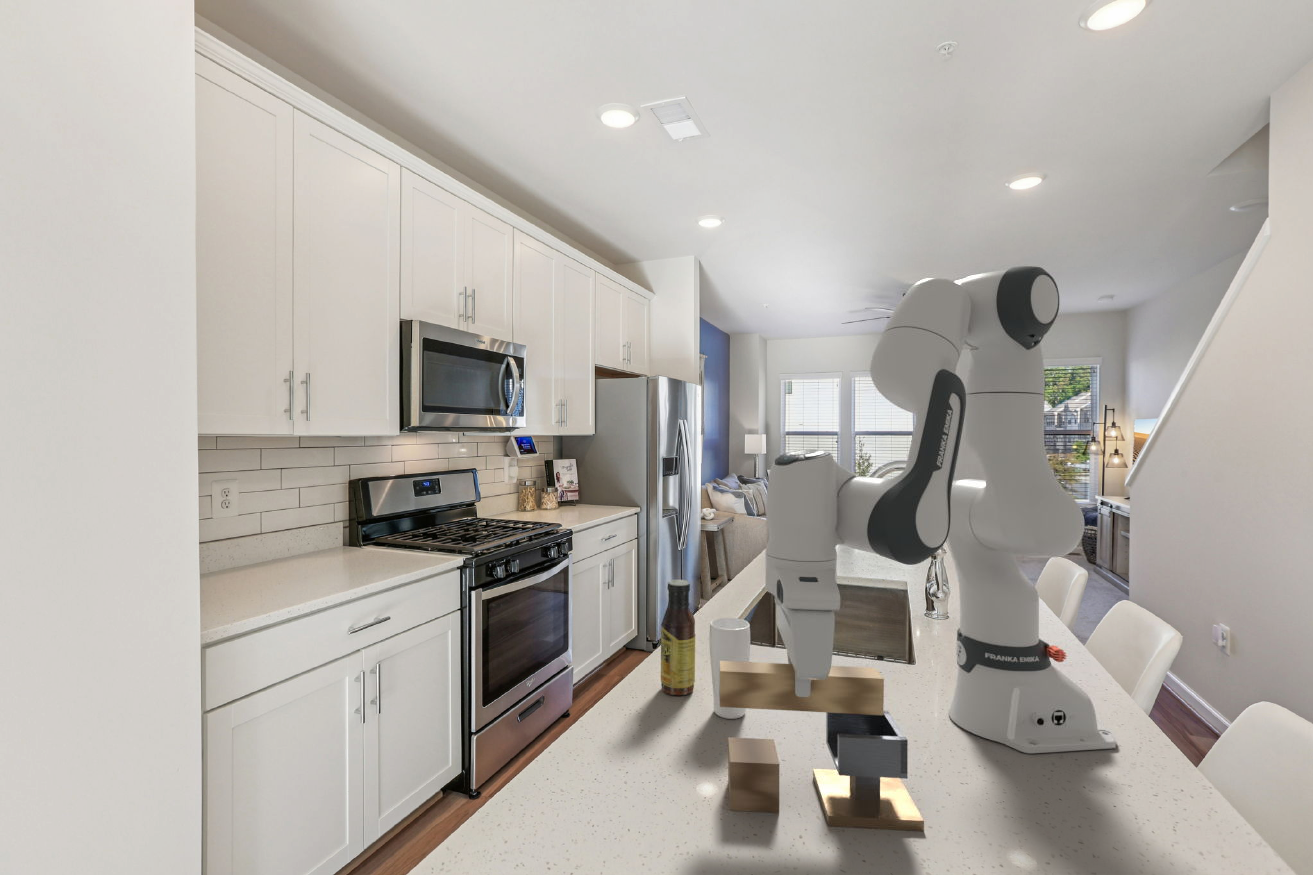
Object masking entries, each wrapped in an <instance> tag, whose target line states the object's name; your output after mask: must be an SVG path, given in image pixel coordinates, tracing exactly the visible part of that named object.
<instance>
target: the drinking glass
mask: <svg viewBox="0 0 1313 875" xmlns="http://www.w3.org/2000/svg"><path fill="white" fill-rule="evenodd" d="M750 626H751V624H750V623H749V622H748V621H747V620H745V619H741V618H739V617H738V618H737V617H736V618H735V617H718V618H715V619H712V620H710V623H709V641H708V642H709V656H710V657H709V658H710V670H711V681H712V682H711V683H712V696H713V711H714V713H715V714H716V715H717V716H718V717H720V718H723V719H726V720H727V719H728V720H736V719H740V718H742V717H743V716H744V715H745V714H746V712H747V710H746V709H747V708H731V707H720V700H719V676H720V661H736V662H750V656H751V627H750Z"/></svg>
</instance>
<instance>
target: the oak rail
mask: <svg viewBox="0 0 1313 875" xmlns="http://www.w3.org/2000/svg"><path fill="white" fill-rule="evenodd" d="M794 678H795V670H794V667H793V665H792V664H788V663H780V662H779V663H777V662H776V663H775V662H754V661H749V662H736V661H720V676H719V700H720V707H731V708H746V709H749V710H750V709H752V710H755V709H756V710H774V711H791V712H793V711H795V712H812V713H826V712H828V713H847V714H867V715H883V711H884V701H885V700H884V694H885V693H884V692H885V690H884V689H885V679H884V677H883V676H882V675H881V673H880V672H879V670H878V669H877V667H869V666H868V667H866V666H865V667H864V666H847V665H846V666H844V665H831V669H830V673H829V675H828V677H827V679H812V680H811V687H810V696H809V697H798V696H797V695H796V694H795V690H794Z"/></svg>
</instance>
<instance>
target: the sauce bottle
mask: <svg viewBox="0 0 1313 875" xmlns="http://www.w3.org/2000/svg"><path fill="white" fill-rule="evenodd" d="M667 591H668V595H667V596H668V597H667V598H668V602H667V607H666V610H665V613H664V616H663V619H662V621H661V625H660V626H661V627H660V682H661V690H662V691H663V692H665V693H666V694H668V695H669V696H685V695H689V694H692V692H693V691H694V689H695V688H694V687H695V682H696V679H695V678H696V674H695V673H696V633H695V632H696V619H695V616H694V614H693V612H692V611H691V609H690V602H689V601H690V599H689V598H690V591H691V583H690V582H689V581H688V580H686V579H672V580H669V581H668V582H667Z"/></svg>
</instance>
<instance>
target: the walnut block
mask: <svg viewBox="0 0 1313 875" xmlns="http://www.w3.org/2000/svg"><path fill="white" fill-rule="evenodd" d="M727 738H728V740H727V742H728V744H727V745H728V748H727V751H728V752H727V753H728V755H727V759H728V762H727V763H728V766H727V768H728V770H727V776H728V778H727V779H728V780H727V781H728V782H727V783H728V784H727V785H728V796H729V797H728V799H729V811H738V812H739V811H740V812H755V813H756V812H757V813H758V812H759V813H773V814H774V813H776V814H778V813H780V760H779V756H778V752H777V748H776V743H775V739H774V738H754V737H751V738H750V737H733V736H731V737H729V736H728V737H727Z"/></svg>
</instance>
